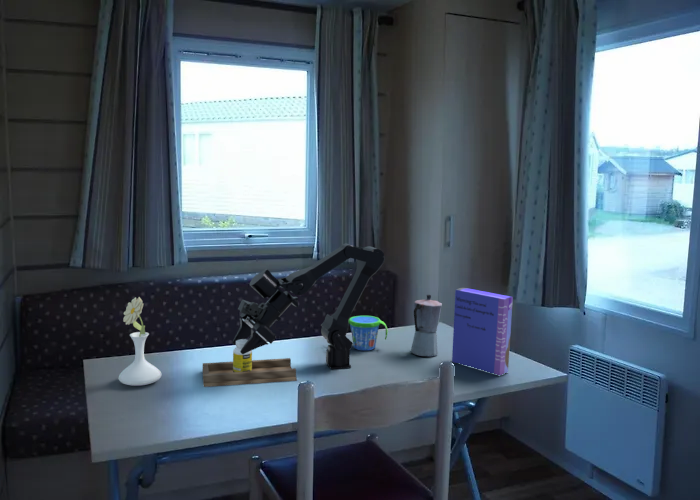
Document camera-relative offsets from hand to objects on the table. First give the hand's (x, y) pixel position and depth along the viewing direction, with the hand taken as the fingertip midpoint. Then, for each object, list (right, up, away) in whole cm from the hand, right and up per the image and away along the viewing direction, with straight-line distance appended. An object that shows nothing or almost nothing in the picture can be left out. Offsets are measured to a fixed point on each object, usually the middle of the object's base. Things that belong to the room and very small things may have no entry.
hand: (237, 348), depth 173 cm
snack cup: (+37, -5, +32) cm, 50 cm away
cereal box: (+73, -9, +15) cm, 75 cm away
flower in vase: (-26, -9, -5) cm, 28 cm away
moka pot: (+57, -7, +27) cm, 64 cm away
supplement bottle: (+1, -8, +2) cm, 8 cm away
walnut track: (+3, -8, +2) cm, 9 cm away
